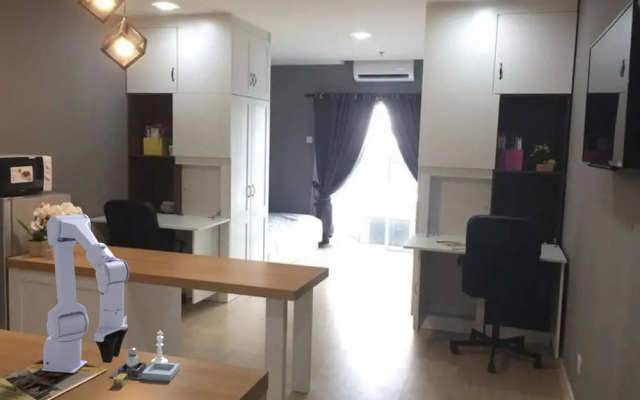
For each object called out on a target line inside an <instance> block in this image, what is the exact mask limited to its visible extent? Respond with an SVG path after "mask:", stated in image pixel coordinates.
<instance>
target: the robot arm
mask: <svg viewBox="0 0 640 400" xmlns="http://www.w3.org/2000/svg"><path fill="white" fill-rule="evenodd" d="M91 226H92V223H91V219H90V217H89V216H88V215H87V214H85V213H81V214H67V215H51V216H50V218H49V219H48V221H47V224H46V234H47V243H48V245H49V246H53V247H52V248H53V255H54V256H53V257H54V259H53V260H54V268H55V269H54V272H55V282H56V283H55V284H56V298H57V303H56V305H55V306H53V308H51V309H50V310H49V311H48V312H47V320H46V321H47V323H46V331H47V335H48V337H47V338H46V340H45V341H44V344H43V349H42V350H43V352H42V353H43V354H42V355H43V359H42V361H43V363H42V365H43V367H42V368H41V371H44V372H55V373H57V372H58V373H69V374H75V373H76V372H77V371H79V369H81V368H82V367H84V366H85V365H86V364H87V363H88V361H87V360H82V338H83V337H84V336H85V333H86V332H87V331H88V328H89V327H90V326H89V325H90V321H89V320H90V319H89V316H88V314H87V309H86V306H84V305H83V304H81V303H79V302H78V299H77V288H76V272H75V263H74V262H75V261H74V260H75V259H74V258H75V257H74V247H75V246H76V244H79V245H80V246H81V247H83V249H84V250H85V251H86V252H85V258H86V259H87V261H88V262H89V264H90V265H91V266H92V267H93V270H95V278H96V282H97V290H98V291H99V324H98V326H97V329H96V332H95V333H94V335H93V341H94V342H95V344H96V346H97V348H98V349H99V352H100V353H99V354H100V356H101V361H102V363H104V364H111V363H112V362H113V358H114V357H115V358H119V357H120V356H119V355H120V353H121V347H122V345H123V342H124V339H125V337H126V335H127V333H128V331H129V328H128V327H129V325H128V324H127V323H128V316H126V315H124V314H125V313H124V309H125V306H124V305H125V283H126V282H127V281H128V280H129V278H130V268H129V265H128V263H127V261H126V260H124V259H120V258H116V256H115V255H114V253H113V252H112V251H111V250H110V249H109V247H108V246H107V245H106V244H105V243H102V242H99V241H98V240H97V238H96V236H95V234H94V233H93V231H92V230H91V228H92V227H91Z"/></svg>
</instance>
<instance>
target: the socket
mask: <svg viewBox="0 0 640 400" xmlns="http://www.w3.org/2000/svg"><path fill="white" fill-rule="evenodd" d="M148 366H149V365H147V362H143V361H138V369H137V370H136V369H134V370H133V375H131V377H130V380H131V381H132V380H133V381H143V380H142V372H143V371H144V370H145V369H146V368H147V367H148ZM120 373H124V374H125V373H126V361H125V362H124V363H123V364H122V365H120V366H119V367H118V368H117V369H116V370H114V372H113V373H112V374H110V375H109V378H111V379H113V378H114V377H117V376H118V375H119V374H120Z"/></svg>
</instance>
